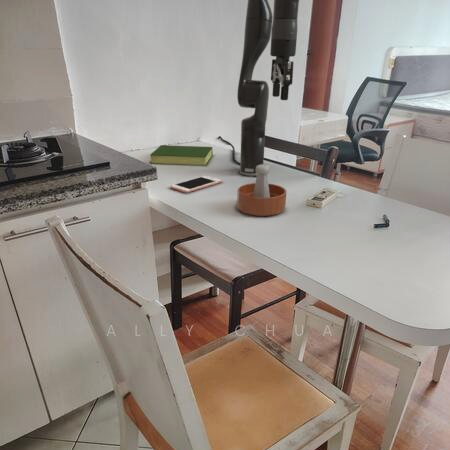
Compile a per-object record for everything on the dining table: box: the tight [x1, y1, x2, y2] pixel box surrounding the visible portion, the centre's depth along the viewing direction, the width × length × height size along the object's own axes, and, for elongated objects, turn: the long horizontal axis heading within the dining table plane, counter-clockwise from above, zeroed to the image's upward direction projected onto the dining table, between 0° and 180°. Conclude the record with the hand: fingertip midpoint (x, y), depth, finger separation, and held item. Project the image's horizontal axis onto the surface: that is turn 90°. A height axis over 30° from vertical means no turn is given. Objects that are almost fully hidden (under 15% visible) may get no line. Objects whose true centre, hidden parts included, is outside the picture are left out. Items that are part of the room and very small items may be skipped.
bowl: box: [236, 182, 287, 217], centre depth 130 cm, size 15×15×6 cm
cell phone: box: [170, 175, 222, 194], centre depth 151 cm, size 9×18×1 cm, turn 137°
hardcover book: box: [149, 144, 213, 167], centre depth 184 cm, size 25×19×4 cm
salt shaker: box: [252, 163, 271, 198], centre depth 128 cm, size 6×6×13 cm
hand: (279, 98), depth 130 cm, fingers open, 8 cm apart
